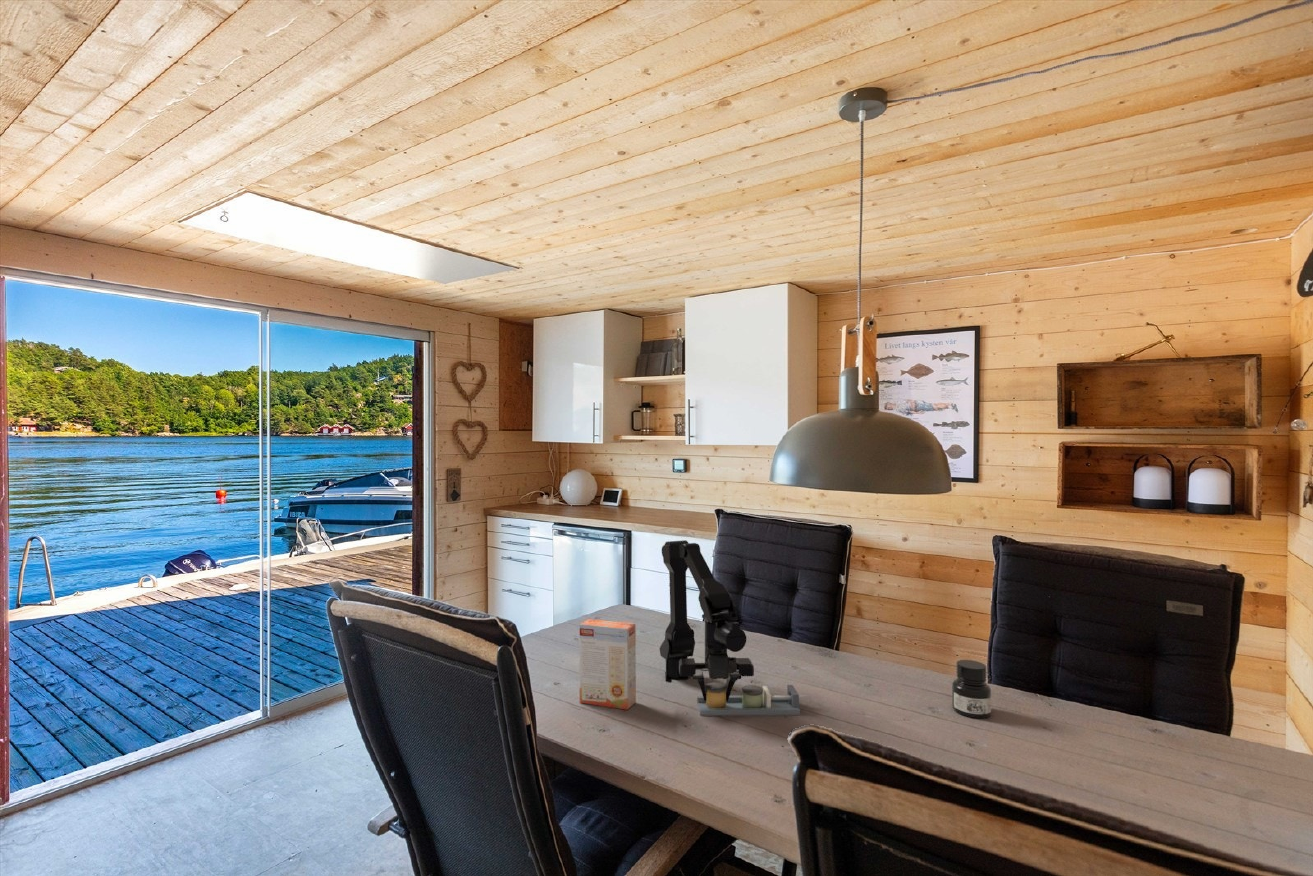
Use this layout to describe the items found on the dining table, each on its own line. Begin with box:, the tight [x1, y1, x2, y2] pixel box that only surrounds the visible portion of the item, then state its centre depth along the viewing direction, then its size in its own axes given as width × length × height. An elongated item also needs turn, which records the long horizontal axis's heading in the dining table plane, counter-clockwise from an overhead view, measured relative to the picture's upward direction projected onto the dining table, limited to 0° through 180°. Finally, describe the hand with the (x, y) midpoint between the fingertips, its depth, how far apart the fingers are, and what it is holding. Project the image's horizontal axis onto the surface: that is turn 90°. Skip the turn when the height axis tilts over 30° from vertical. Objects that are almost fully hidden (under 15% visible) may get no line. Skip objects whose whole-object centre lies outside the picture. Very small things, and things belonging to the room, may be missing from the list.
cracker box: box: [578, 618, 637, 711], centre depth 163 cm, size 14×6×21 cm, turn 69°
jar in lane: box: [741, 684, 763, 708], centre depth 159 cm, size 5×5×5 cm
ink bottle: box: [951, 659, 992, 719], centre depth 158 cm, size 10×9×12 cm
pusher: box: [761, 685, 813, 708], centre depth 159 cm, size 12×6×4 cm, turn 91°
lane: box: [696, 684, 801, 716], centre depth 159 cm, size 25×9×5 cm, turn 91°
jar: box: [705, 681, 727, 708], centre depth 158 cm, size 5×5×5 cm
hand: (715, 700), depth 159 cm, fingers closed on jar, 5 cm apart
